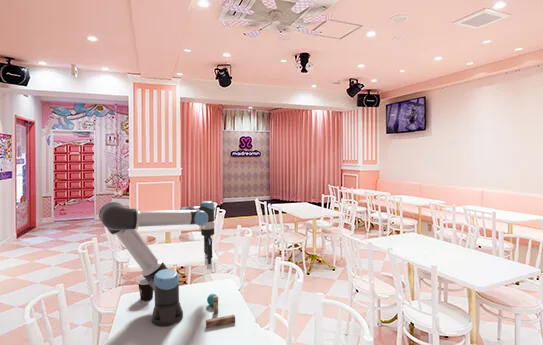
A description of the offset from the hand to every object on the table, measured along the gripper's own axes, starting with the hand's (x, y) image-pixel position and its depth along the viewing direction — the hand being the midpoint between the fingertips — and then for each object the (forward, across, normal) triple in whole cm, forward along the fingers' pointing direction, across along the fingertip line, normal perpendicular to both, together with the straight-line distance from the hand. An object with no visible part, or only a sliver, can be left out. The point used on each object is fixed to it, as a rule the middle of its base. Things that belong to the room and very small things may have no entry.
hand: (208, 266), depth 186 cm
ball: (+14, -13, 0) cm, 19 cm away
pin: (+17, -22, 0) cm, 28 cm away
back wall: (+17, -34, 0) cm, 38 cm away
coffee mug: (+17, +7, +34) cm, 39 cm away
